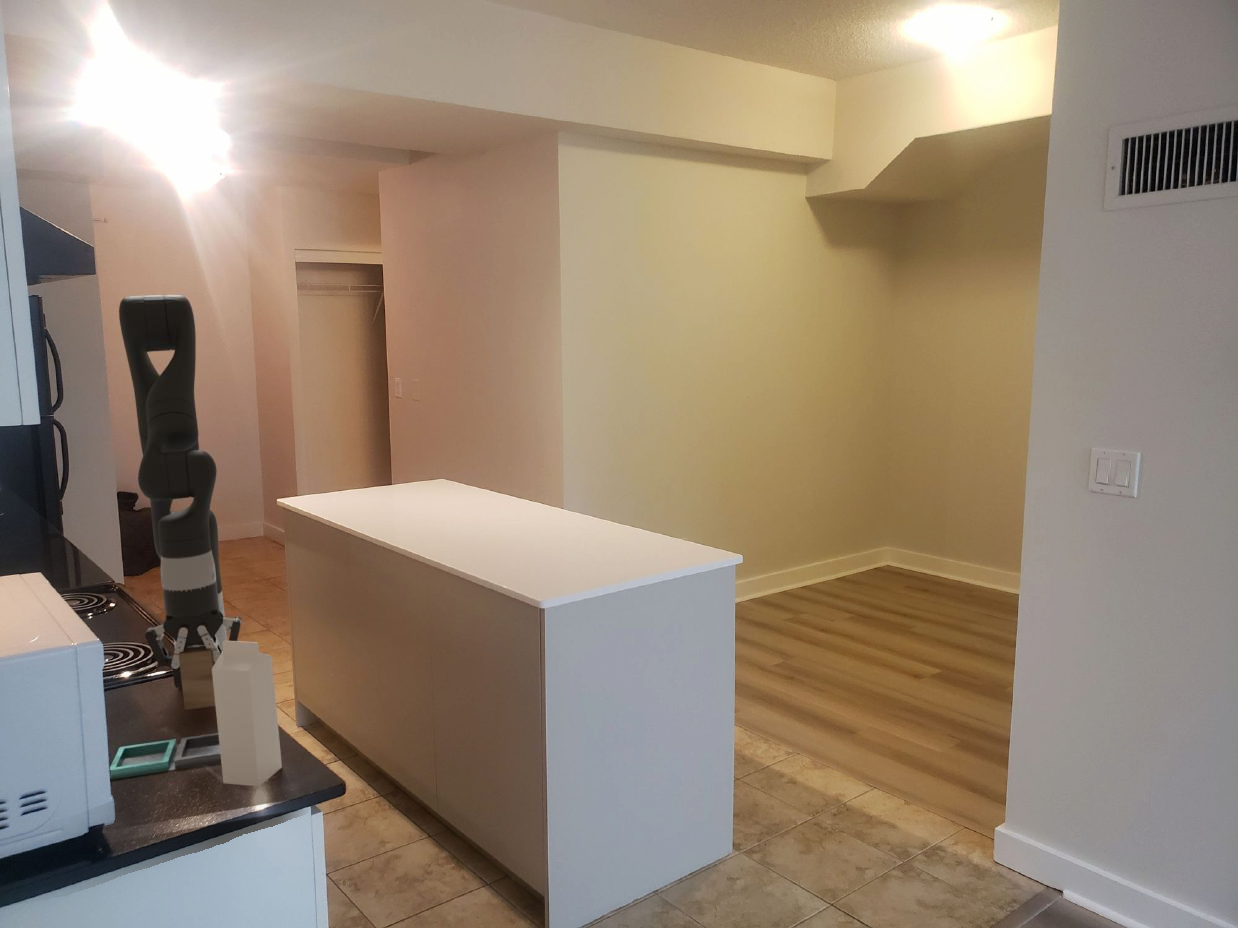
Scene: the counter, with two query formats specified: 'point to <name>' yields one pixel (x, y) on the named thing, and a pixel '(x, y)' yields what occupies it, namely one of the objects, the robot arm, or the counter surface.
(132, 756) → the trays
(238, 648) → the milk
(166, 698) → the counter surface
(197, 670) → the walnut block
